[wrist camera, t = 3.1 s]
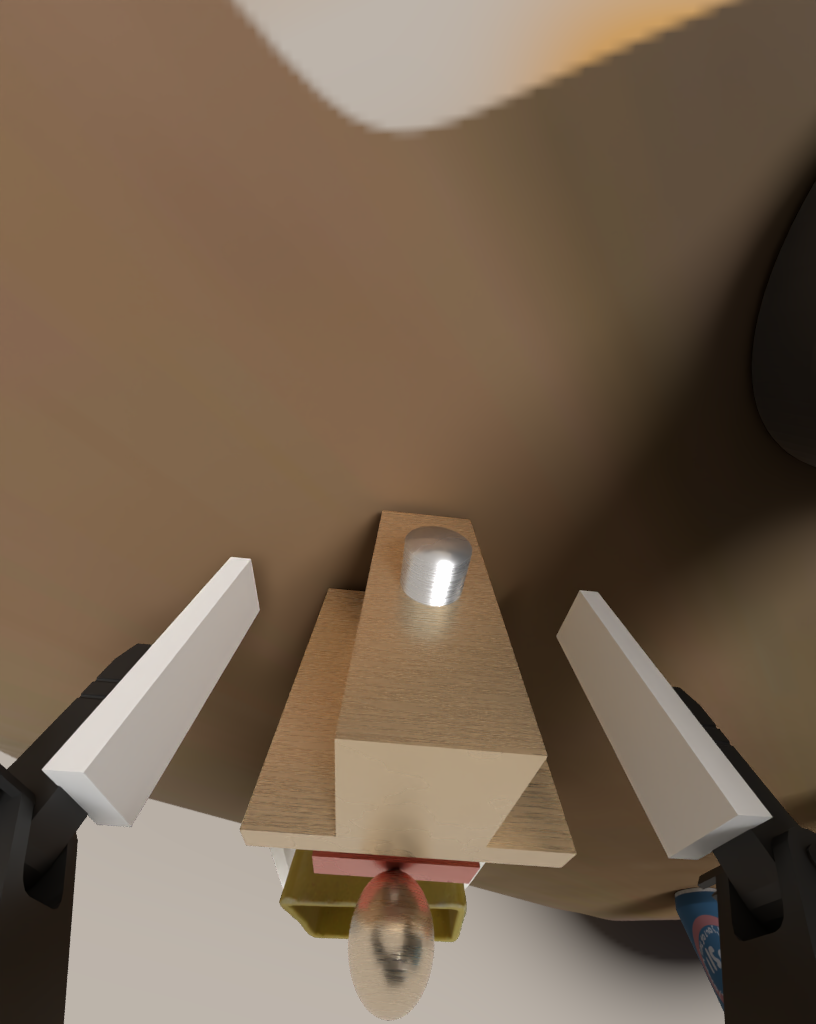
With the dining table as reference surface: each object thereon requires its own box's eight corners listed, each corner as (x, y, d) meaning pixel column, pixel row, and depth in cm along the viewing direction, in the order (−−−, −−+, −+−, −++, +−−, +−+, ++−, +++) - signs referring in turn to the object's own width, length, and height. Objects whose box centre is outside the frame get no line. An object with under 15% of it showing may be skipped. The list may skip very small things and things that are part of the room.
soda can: (705, 882, 39) (812, 1078, 29) (735, 892, 41) (846, 1080, 30) (658, 893, 42) (740, 1075, 32) (688, 902, 44) (774, 1077, 33)
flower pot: (444, 760, 25) (458, 946, 17) (343, 759, 26) (310, 941, 18) (448, 700, 21) (468, 909, 13) (327, 699, 21) (275, 903, 13)
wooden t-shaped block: (532, 494, 13) (923, 964, 3) (469, 679, 19) (527, 1031, 9) (327, 471, 13) (1, 907, 3) (331, 666, 19) (237, 1016, 9)
